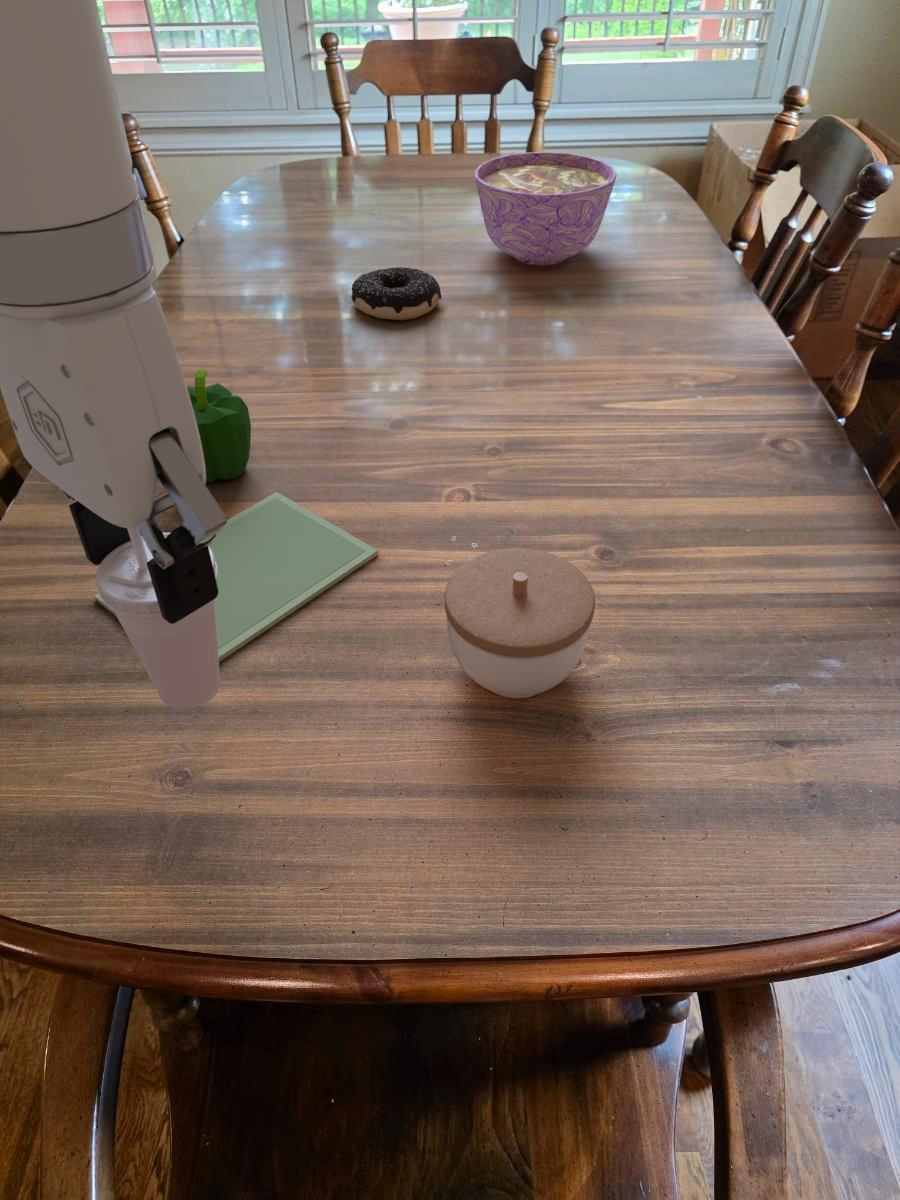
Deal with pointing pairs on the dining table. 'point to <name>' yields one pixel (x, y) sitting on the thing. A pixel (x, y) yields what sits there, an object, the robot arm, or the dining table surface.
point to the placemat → (275, 567)
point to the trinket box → (518, 619)
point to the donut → (396, 293)
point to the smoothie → (161, 628)
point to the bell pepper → (221, 428)
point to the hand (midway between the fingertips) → (152, 577)
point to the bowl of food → (543, 203)
